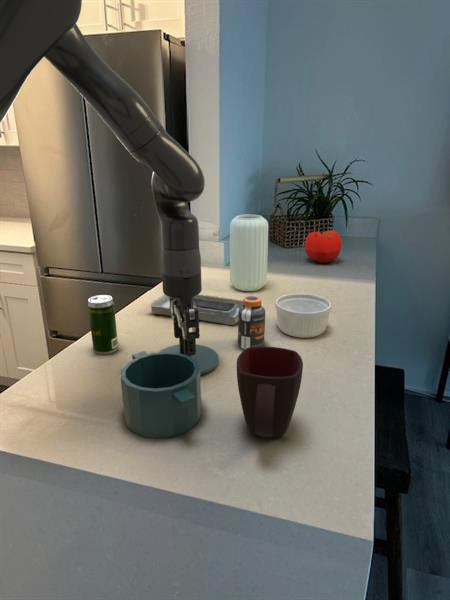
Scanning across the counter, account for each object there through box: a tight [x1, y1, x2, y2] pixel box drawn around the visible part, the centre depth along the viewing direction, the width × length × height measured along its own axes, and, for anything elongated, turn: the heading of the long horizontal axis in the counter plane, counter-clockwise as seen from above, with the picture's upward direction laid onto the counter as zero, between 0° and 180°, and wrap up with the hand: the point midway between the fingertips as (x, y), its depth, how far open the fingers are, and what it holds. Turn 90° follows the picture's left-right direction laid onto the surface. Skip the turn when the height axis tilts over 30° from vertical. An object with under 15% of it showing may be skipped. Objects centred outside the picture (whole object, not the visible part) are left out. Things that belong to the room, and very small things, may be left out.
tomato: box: [304, 229, 342, 264], centre depth 162 cm, size 13×14×12 cm
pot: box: [120, 351, 202, 439], centre depth 71 cm, size 13×18×8 cm
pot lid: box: [157, 335, 219, 376], centre depth 88 cm, size 14×14×6 cm
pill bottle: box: [237, 295, 266, 350], centre depth 95 cm, size 6×6×11 cm
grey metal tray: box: [148, 293, 243, 326], centre depth 115 cm, size 13×25×3 cm, turn 71°
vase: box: [229, 213, 269, 292], centre depth 131 cm, size 12×12×22 cm
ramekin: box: [274, 292, 332, 339], centre depth 104 cm, size 13×13×7 cm
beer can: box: [87, 294, 119, 356], centre depth 93 cm, size 5×5×12 cm
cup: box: [236, 346, 304, 440], centre depth 65 cm, size 10×14×12 cm
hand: (184, 345), depth 88 cm, fingers open, 8 cm apart
